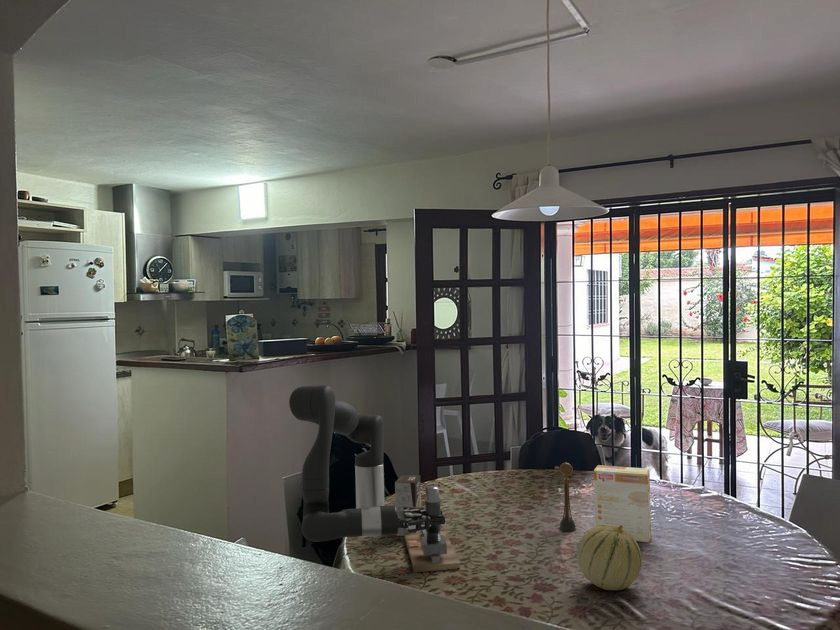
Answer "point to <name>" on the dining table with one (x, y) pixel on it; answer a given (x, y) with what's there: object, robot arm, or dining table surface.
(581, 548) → the cantaloupe
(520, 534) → the dining table surface
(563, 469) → the wooden tabletop sculpture
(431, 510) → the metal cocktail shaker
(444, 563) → the press bench
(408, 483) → the coffee box
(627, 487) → the coffeecake box
